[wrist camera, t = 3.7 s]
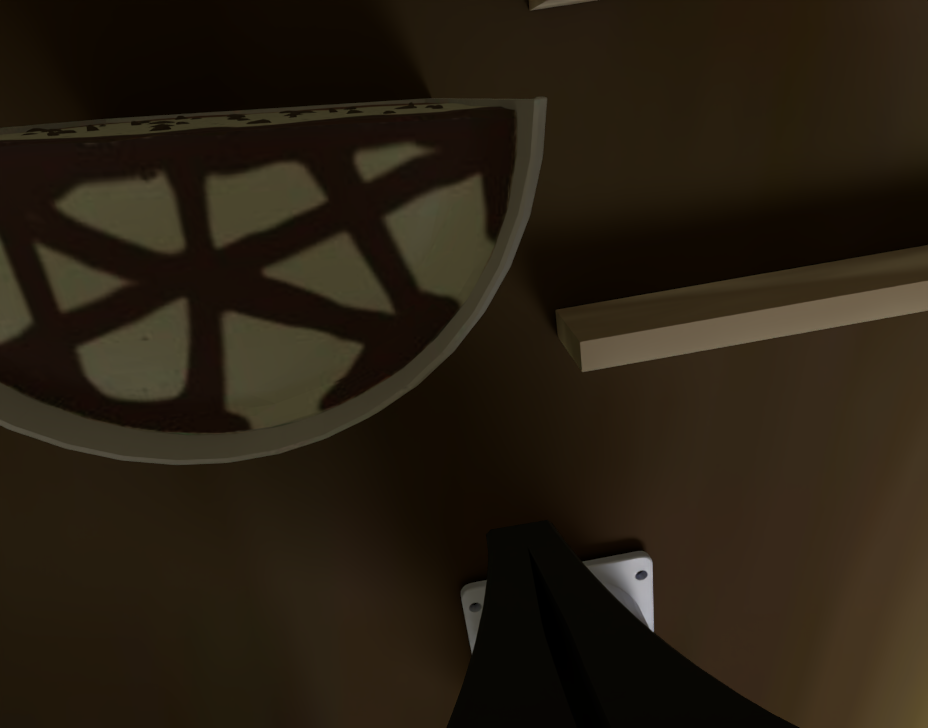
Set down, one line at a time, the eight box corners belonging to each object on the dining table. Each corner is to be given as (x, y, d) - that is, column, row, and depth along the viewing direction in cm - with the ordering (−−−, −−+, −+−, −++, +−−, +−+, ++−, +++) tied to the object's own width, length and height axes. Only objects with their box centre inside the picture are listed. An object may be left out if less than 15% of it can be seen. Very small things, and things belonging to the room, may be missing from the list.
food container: (109, 328, 20) (-131, 530, 11) (44, 122, 17) (-340, 156, 8) (491, 294, 21) (570, 453, 12) (483, 94, 18) (575, 96, 9)
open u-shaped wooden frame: (993, 260, 22) (1078, 283, 19) (557, 336, 22) (582, 372, 19) (1074, -114, 18) (1199, -152, 15) (525, -31, 17) (552, -55, 14)
